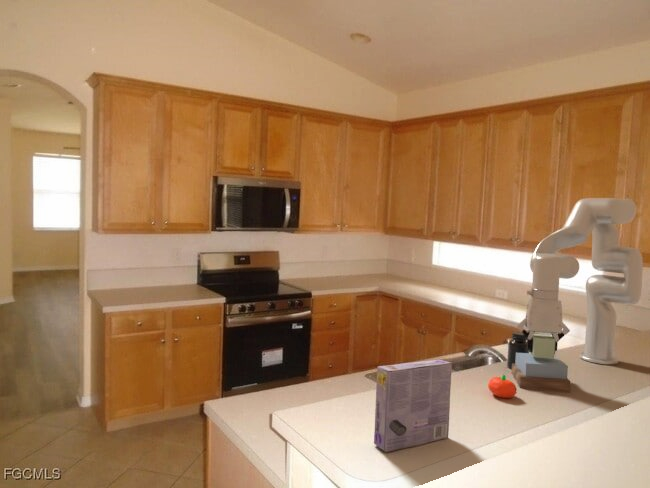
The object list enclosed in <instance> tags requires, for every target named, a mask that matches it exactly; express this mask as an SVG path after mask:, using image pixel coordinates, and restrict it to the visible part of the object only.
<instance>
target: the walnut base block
mask: <svg viewBox="0 0 650 488" xmlns="http://www.w3.org/2000/svg"><path fill="white" fill-rule="evenodd" d="M511 375H512V377H513V379H514V380H515V382H516V384H517V385H518V387H519V388H520V389H528V390H537V391H539V390H540V391H548V392H550V391H551V392H562V393H570V392H571V380H570V379H569V378H568V377H567V379H558V378H543V377H529V376H525V375H524V374H523V373H522V372H521V370H520V369H519V368H518V367H517V366H516V365H515V364H513V363H512V369H511Z"/></svg>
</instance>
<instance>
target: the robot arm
mask: <svg viewBox="0 0 650 488" xmlns="http://www.w3.org/2000/svg"><path fill="white" fill-rule="evenodd" d="M636 214H637V206H636V204H635V201H633V200H632V199H630V198H618V197H617V198H616V197H615V198H613V197H587V198H581V199H579V200H577V202H575V204H574V206H573V207H572V209H571V211H570V213H569V215H568V217H567V219H566V221H565V222H564V225H563V226H562V227H561V228H559V229H558V230H555V231H553V233H551V234H549V235H548V236H545V238H543V239H542V240H541V241H540V242H539V243H538V245H537V246H536V247H535V250H534V252H533V254H532V256H531V258H530V261H529V262H530V263H529V267H530V270H531V272H532V287H531V289H530V290H529V289H528V290H527V291H526V295H528V296H530V297H529V299H528V301H527V307H526V312H525V318H524V319H523V320H522V321H520V322H519V323H517V324H516V328H517V329H518V330H519V331H520V332H521V333H523V334H524V335H525V336H526V337H527V340H526V341H527V349H528V350H529V353H530V352H532V350H533V340H532V337H533V335H534V334H536V333H543V334H545V333H546V334H547V333H548V334H550V335H551V336H552V337H553V338H554V339H555V353H554V355H556V352H557V351H558V342H560V340H561V339H562V338H563V337H564V336H565V335H566V336H567V334H568V333H570V331H571V330H570V329H569V327H567V325H566V324H565V323H564V322H563V307H562V305H563V304H562V300H559V290H560V289H559V288H560V287H559V286H560V279H572V278H575V276H576V275H578V273H579V272H580V271H579V270H580V263H579V260H578V259H577V258H576V257H574V256H572V255H570V254H569V255H568V254H561V253H559V254H558V253H557V252H559V251H561V250H565V249H569V248H572V247H577V246H579V245H583V244H585V243H586V242H588V239H589V238H590V236H591V234H592V239H591V240H592V243H591V264H592V268H593V269H595V270H596V271H599V272H605V273H606V272H607V273H615V274H622V275H623V276H616V275H608V274H607V275H606V274H593V275H591V276H589V277H588V278H587V279H586V281H585V293H586V294H585V295H586V302H587V303H586V306H587V307H586V322H585V324H586V325H585V336H584V337H585V339H584V351H582V352H579V356H578V357H579V358H580V359H581V360H584V361H586V362H590V363H595V364H600V365H617V364H619V358H617V357H616V356H615V354H614V353H615V345H616V344H615V343H616V341H615V340H616V330H617V329H616V328H617V311H616V310H615V308H614V306H613V305H612V303H615V304H621V305H628V306H629V305H630V306H631V305H637V303H639V301H640V300H641V296H642V286H643V284H642V283H643V265H644V264H643V263H644V260H643V255H642V252H641V251H640V250H639V249H638V248H635V247H630V246H621V245H620V231H619V228H618V227H617V225H616V224H618V225H621V224H629V223H631V222H632V221H634V219H635V217H636ZM524 327H526V329H528V330H526V329H525V328H524Z"/></svg>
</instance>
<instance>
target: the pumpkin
mask: <svg viewBox="0 0 650 488" xmlns="http://www.w3.org/2000/svg"><path fill="white" fill-rule="evenodd" d="M487 387H488V389H489V391H490V392H491V393H492V394H493V395H495V396H496V397H499V398H502V399H509V398H513V397H514V396H516V394H517V387H516V384H515V383H514V382H513V381H511V380H509V379H506V375H505V374H502V376H501V377H500V376H493V377H492V378H490V379H489V381H488V384H487Z"/></svg>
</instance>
